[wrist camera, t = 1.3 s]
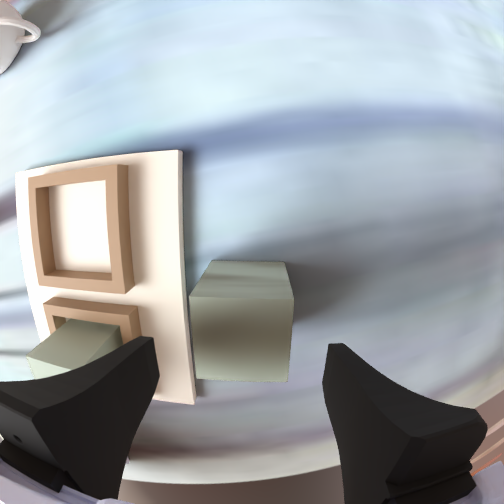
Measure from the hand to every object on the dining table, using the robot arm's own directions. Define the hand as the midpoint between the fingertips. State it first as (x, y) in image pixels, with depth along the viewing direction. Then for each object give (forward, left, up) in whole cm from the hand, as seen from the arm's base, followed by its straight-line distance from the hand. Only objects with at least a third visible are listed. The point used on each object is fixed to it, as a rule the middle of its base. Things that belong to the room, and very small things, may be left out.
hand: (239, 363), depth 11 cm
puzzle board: (0, +11, -8) cm, 13 cm away
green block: (0, 0, -8) cm, 8 cm away
